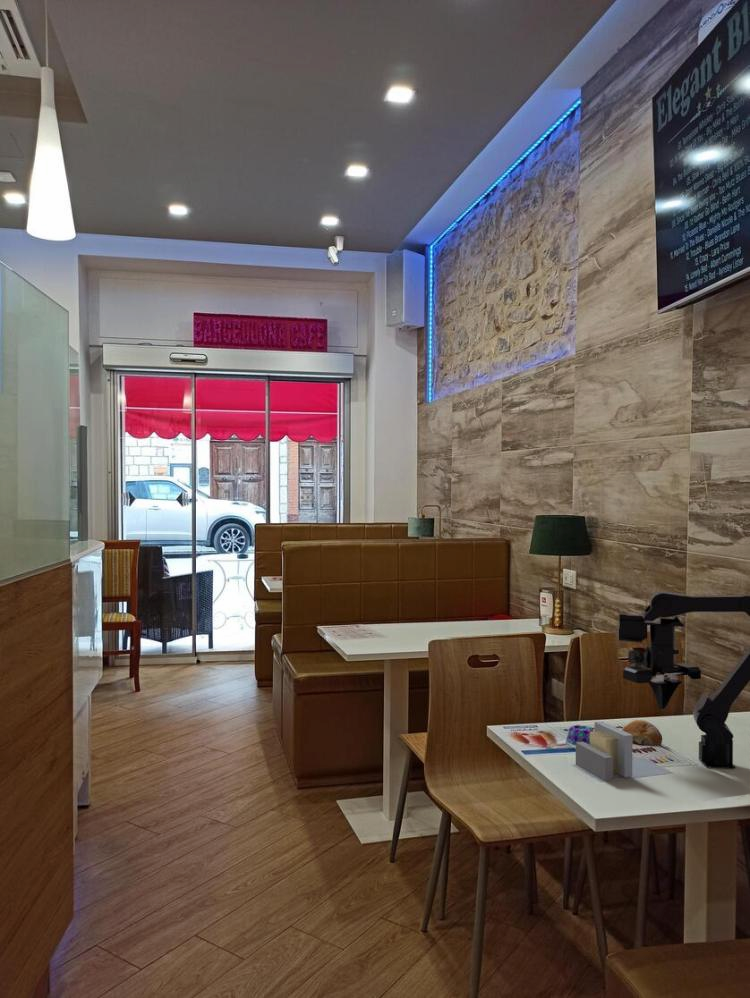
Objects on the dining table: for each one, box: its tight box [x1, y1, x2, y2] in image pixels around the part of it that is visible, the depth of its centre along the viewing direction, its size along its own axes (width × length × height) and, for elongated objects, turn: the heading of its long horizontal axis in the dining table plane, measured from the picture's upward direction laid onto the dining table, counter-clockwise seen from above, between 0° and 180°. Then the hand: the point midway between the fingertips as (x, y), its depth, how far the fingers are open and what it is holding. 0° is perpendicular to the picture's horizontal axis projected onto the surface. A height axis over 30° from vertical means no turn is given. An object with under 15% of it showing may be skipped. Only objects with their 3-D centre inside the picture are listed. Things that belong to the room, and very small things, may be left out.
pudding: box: [556, 724, 594, 746], centre depth 187 cm, size 12×12×5 cm
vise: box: [571, 742, 674, 783], centre depth 167 cm, size 19×11×6 cm, turn 108°
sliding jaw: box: [594, 720, 634, 778], centre depth 166 cm, size 2×11×9 cm, turn 18°
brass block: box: [590, 730, 618, 775], centre depth 166 cm, size 3×6×8 cm, turn 18°
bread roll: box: [621, 719, 663, 748], centre depth 190 cm, size 10×10×8 cm
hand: (661, 708), depth 179 cm, fingers closed
